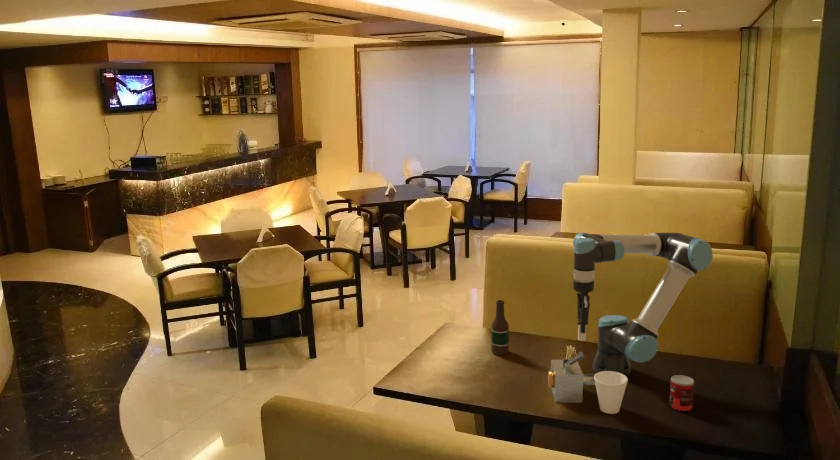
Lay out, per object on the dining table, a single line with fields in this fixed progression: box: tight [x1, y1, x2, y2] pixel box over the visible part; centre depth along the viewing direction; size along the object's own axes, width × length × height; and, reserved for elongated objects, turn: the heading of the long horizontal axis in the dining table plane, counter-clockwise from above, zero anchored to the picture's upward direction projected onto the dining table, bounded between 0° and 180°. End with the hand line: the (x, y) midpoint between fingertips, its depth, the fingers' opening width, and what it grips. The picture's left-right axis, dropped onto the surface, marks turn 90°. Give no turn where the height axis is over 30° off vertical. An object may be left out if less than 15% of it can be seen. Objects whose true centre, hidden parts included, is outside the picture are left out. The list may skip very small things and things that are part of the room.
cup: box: [594, 371, 629, 415], centre depth 241 cm, size 12×12×12 cm
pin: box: [547, 370, 596, 389], centre depth 254 cm, size 18×6×6 cm, turn 86°
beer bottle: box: [490, 299, 510, 356], centre depth 293 cm, size 8×8×24 cm
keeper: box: [564, 351, 586, 365], centre depth 252 cm, size 8×4×1 cm
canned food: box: [668, 374, 695, 413], centre depth 242 cm, size 8×8×11 cm
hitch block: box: [550, 357, 584, 404], centre depth 254 cm, size 10×14×13 cm
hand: (581, 339), depth 250 cm, fingers closed
